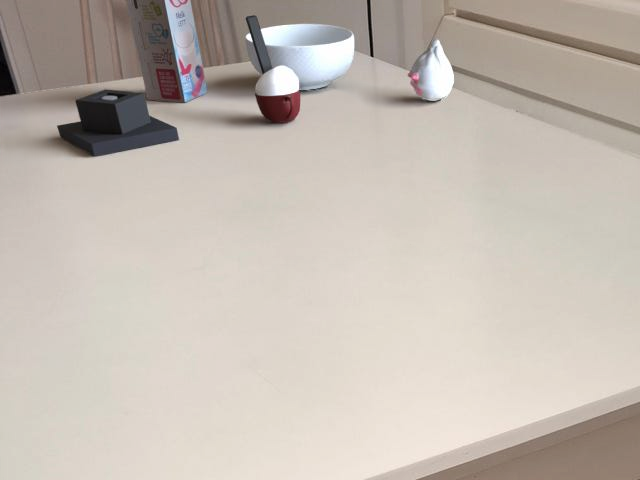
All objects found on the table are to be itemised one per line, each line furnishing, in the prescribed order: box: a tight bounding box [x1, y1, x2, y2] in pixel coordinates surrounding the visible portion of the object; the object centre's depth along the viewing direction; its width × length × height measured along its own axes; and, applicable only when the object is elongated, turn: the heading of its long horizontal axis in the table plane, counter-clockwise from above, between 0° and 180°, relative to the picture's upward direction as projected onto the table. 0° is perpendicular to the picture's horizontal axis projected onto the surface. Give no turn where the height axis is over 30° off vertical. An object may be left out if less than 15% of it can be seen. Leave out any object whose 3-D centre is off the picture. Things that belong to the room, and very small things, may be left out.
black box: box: [74, 88, 151, 134], centre depth 122 cm, size 6×6×4 cm
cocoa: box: [245, 14, 301, 124], centre depth 127 cm, size 10×6×12 cm, turn 12°
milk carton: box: [124, 0, 208, 104], centre depth 134 cm, size 7×7×22 cm
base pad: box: [56, 96, 180, 157], centre depth 123 cm, size 12×12×5 cm
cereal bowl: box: [244, 23, 355, 90], centre depth 144 cm, size 17×17×7 cm
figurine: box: [407, 38, 455, 99], centre depth 136 cm, size 6×7×8 cm
